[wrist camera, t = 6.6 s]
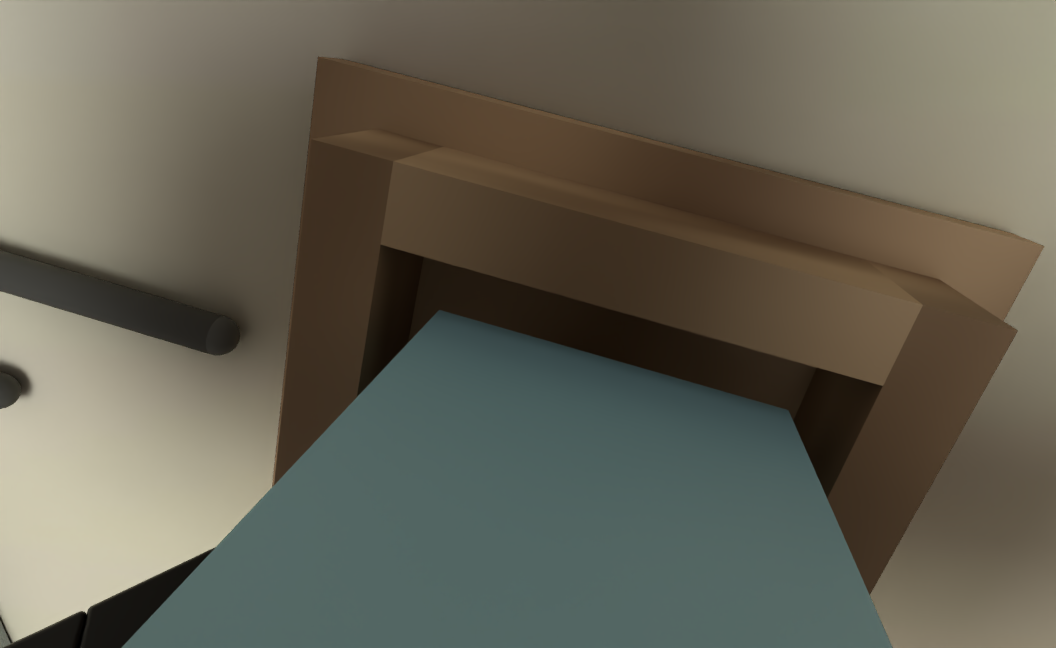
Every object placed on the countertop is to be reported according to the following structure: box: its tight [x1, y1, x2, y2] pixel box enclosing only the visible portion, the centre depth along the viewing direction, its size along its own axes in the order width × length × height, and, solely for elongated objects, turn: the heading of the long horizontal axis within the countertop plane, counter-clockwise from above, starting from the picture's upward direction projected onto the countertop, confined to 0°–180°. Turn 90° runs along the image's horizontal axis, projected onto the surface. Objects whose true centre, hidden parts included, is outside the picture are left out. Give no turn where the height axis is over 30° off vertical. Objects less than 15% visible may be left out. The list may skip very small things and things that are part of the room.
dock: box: [272, 57, 1044, 595], centre depth 10 cm, size 10×10×3 cm
